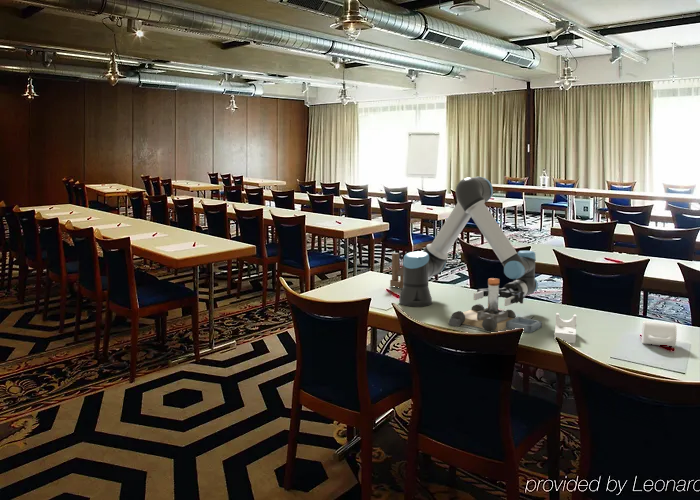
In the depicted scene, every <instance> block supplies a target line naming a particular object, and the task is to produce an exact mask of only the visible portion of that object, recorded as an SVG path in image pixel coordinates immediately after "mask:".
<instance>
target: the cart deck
mask: <svg viewBox="0 0 700 500" xmlns="http://www.w3.org/2000/svg"><path fill="white" fill-rule="evenodd" d="M516 317H517V316H516V313H515V311H513V310H512V309H506V310H503V309H498V314H492V313H488V307H486V308H485V306H484V305H483V304H481V303H477V304H476V303H475V304H474V305H473V306H472V307H471V308H470V309H468V310H466V311H461V310H457V311H455V312H453V313H452V314H451V317H450V318H456V319H460V320H461V324H462V325H467V326H471V327H475V328H476V327H477V328H481V329H483V330H484V331H486V332H492V331H493V330H494V331H493V332H501V331H502V330H505V329H507V328H506V322H507V321H509V320H511V319H514V318H516Z"/></svg>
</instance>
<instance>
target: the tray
mask: <svg viewBox="0 0 700 500" xmlns="http://www.w3.org/2000/svg"><path fill="white" fill-rule="evenodd" d="M542 325H543V321H542V320H537V319H533V318H532V319H531V318H527V317H521V316H516V318H514V319H511V320H509V321H507V322H506V328H505V329H511V330H514V329H515V328H524V332H523V333H527V332H528V334H532V333H533V332H535V331H537V330H539V329H542V327H543V326H542Z"/></svg>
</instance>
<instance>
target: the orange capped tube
mask: <svg viewBox="0 0 700 500" xmlns="http://www.w3.org/2000/svg"><path fill="white" fill-rule="evenodd" d="M500 281H501V280H500V278H496V277H495V278H494V277H490V278H488V279H487V286H488V287H487V288H488V296H487V308H488V313H492V314H498V310H499V297H498V296H499V289H500Z"/></svg>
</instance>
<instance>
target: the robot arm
mask: <svg viewBox="0 0 700 500" xmlns="http://www.w3.org/2000/svg"><path fill="white" fill-rule="evenodd" d="M493 194H494V188H493V185H492V182H490V180H489V179H488V178H485V177H482V176H475V177H472V176H471V177H464V178H462V179H461V180H460V181H459V182H457V185H456V186H455V196H456V202H457V203H456V204H455V206H454V207H453V209H452V210H451V212H450V214H449V216H448V217H447V219H446V220H445V222H444V223H443V225H442V227H440V230H439V231H438V233H437V234H436V236H435V238H434V239H433V241H432V242H431V243H428V244H426V246H425V248H424V249H423V251H420V250H417V251H409V252H407V253H406V254H404V256H403V260H402V266H403V288H402V289H401V292H400V295H399V297H398V298H399V299H398V301H399V302H400V303H399V304H400V305H401V306H402V305H403V306H405V307H406V306H407V307H414V308H415V307H416V308H417V307H426V306H427V307H428V306H431V305H432V303H433V298H432V295H431V290H430V288H429V278H430V277H433V276H436V275H439V274H440V273H441V272H443V270H445V268H446V264H447V260H448V258H449V255H448V253H449V251H450V249H451V248H452V246H453V245H454V244H455V242H456V241H457V238H458V237H459V235H460V234H461V233H462V231H463V229H464V228H465V226H466V225H467V224H468V222H469V221H470V219H472V220H473V222H474V224H475V225H476V227H477V228H478V229H479V231H480V233H481V234H482V235H483V237H484V239H485V240H486V242H487V243H488V245H489V246H490V248H491V249H492V251H493V252H494V253H495V255H496V257H497V259H498V260H499V261H500V263H501V265H502V266H503V274H504V275H505V276H506V278H509V279H510V280H513V281H511V282H508V283H506V284H504V285H503V287H501V288H499V296H498V298H503V299H504V307H508V306H510V305H513V304H521V305H522V304H524V299H525V297H526V296H530V295H532V294H534V293H535V292H536V291H537V290H538V287H539V283H538V281H537V279H536V277H535V276H536V275H535V271H536V252H534V251H533V250H519V251H516V249H515V247H514V246H513V245H512V244H513V243H512V242H510V240H509V238H508V236H507V235H506V234H505V233H504V231H503V230H502V228H501V226H500V224H499V223H498V222H497V221H496V219H495V218H494V216H493V215H492V213H491V211H490V210H489V208H488V207H487V206H486V204H485V203H487V202H488V201H489V200H490V199H491V198H492V197H493ZM484 297H488V287H487V288H478V289H476V292H475V293H473V301H477V300H480V299H483V298H484Z"/></svg>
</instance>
